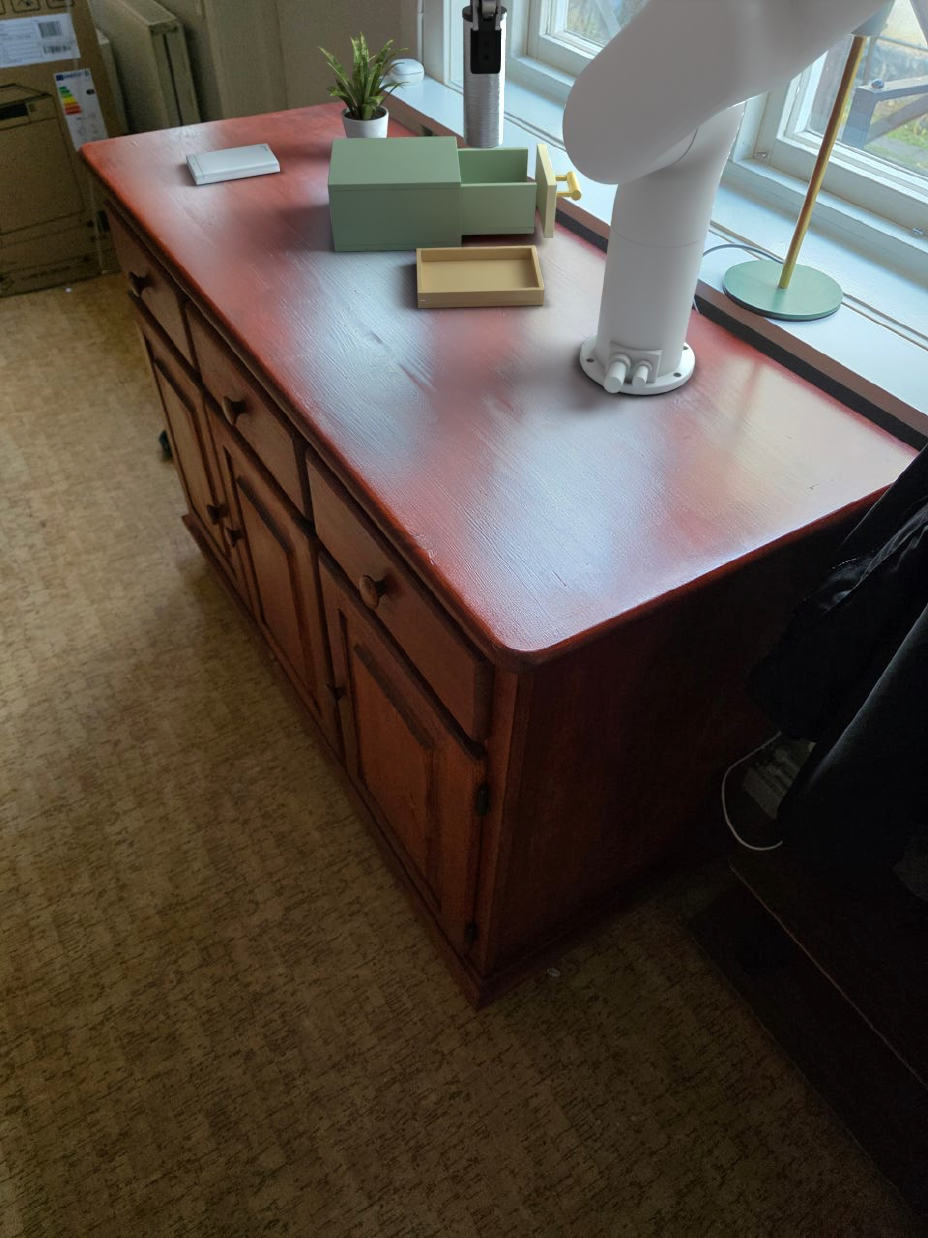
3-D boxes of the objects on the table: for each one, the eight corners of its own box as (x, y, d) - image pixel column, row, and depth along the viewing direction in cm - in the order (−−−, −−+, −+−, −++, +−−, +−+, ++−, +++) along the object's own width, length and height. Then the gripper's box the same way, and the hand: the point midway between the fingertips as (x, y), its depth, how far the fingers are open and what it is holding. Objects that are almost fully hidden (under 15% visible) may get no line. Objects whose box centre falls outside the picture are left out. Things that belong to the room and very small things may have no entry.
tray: (534, 260, 115) (535, 245, 113) (543, 304, 107) (544, 289, 106) (416, 263, 114) (416, 247, 113) (418, 308, 107) (417, 292, 105)
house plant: (438, 163, 135) (436, 39, 123) (359, 185, 130) (348, 58, 117) (389, 133, 143) (383, 14, 130) (313, 152, 138) (298, 30, 125)
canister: (496, 151, 98) (500, 17, 89) (457, 146, 99) (456, 14, 90) (508, 135, 101) (512, 5, 92) (469, 131, 102) (469, 1, 92)
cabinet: (456, 200, 127) (455, 135, 120) (461, 248, 117) (461, 181, 110) (339, 202, 126) (332, 137, 120) (334, 251, 116) (327, 184, 110)
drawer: (569, 192, 126) (574, 142, 121) (582, 237, 117) (588, 184, 112) (433, 196, 125) (431, 144, 120) (435, 240, 117) (434, 187, 111)
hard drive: (266, 141, 136) (184, 153, 133) (278, 161, 131) (194, 174, 128) (267, 152, 138) (187, 164, 135) (280, 173, 133) (197, 186, 130)
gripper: (443, -177, 86) (446, 39, 100) (448, -146, 75) (451, 93, 89) (520, -178, 86) (513, 38, 100) (537, -147, 75) (526, 92, 89)
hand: (484, 62), depth 94 cm, fingers closed on canister, 4 cm apart
